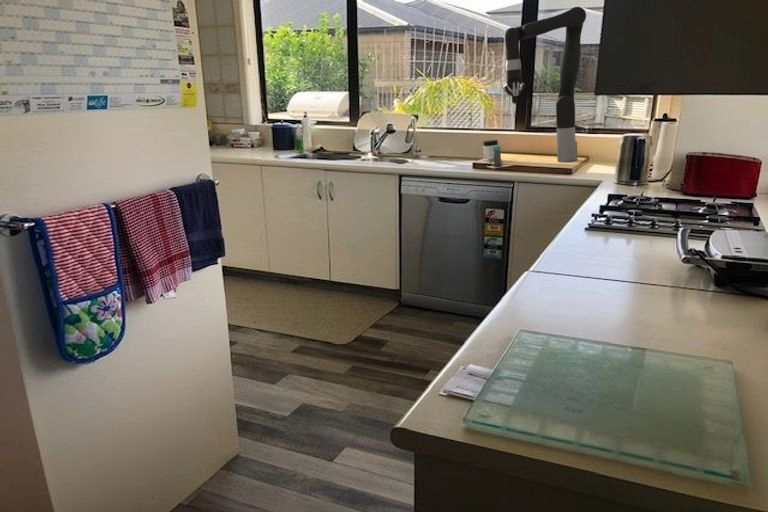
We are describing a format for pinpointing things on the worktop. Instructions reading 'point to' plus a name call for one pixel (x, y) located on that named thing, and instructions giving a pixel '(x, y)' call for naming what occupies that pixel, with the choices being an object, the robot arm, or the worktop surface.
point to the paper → (499, 166)
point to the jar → (489, 148)
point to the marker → (497, 155)
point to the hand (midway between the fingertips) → (515, 103)
